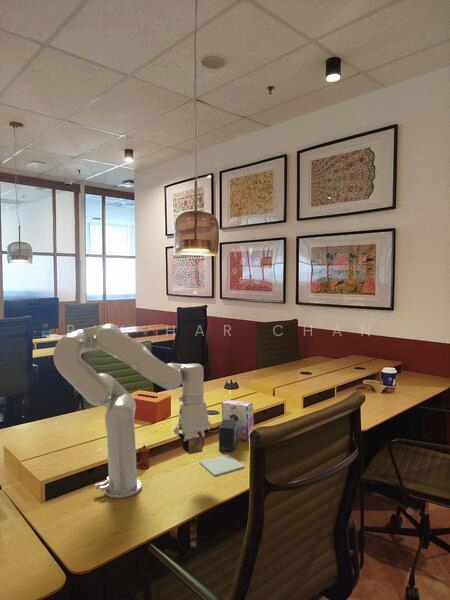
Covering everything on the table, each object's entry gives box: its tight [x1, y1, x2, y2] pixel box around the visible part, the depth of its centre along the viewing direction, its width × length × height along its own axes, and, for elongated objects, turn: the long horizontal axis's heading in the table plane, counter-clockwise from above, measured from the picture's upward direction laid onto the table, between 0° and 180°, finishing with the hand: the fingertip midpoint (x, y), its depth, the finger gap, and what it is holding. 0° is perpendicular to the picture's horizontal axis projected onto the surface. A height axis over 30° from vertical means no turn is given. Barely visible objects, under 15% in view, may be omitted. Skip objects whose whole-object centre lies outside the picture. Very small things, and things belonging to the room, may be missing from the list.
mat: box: [199, 453, 245, 477], centre depth 159 cm, size 13×13×1 cm
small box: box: [218, 419, 238, 453], centre depth 176 cm, size 11×6×10 cm, turn 168°
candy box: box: [221, 399, 255, 443], centre depth 187 cm, size 14×6×16 cm, turn 58°
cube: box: [186, 432, 203, 455], centre depth 146 cm, size 5×5×5 cm
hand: (193, 448), depth 146 cm, fingers closed on cube, 5 cm apart
